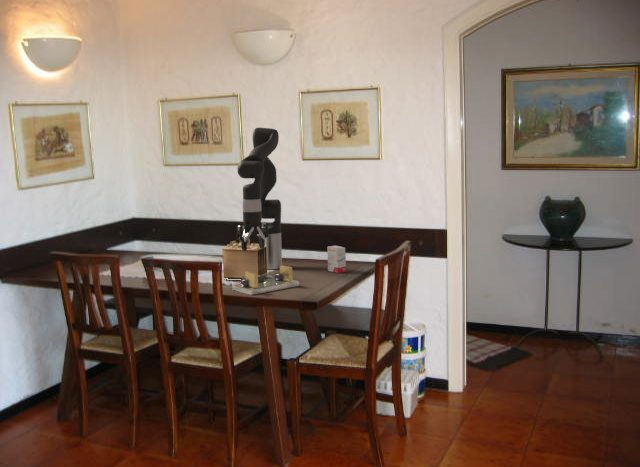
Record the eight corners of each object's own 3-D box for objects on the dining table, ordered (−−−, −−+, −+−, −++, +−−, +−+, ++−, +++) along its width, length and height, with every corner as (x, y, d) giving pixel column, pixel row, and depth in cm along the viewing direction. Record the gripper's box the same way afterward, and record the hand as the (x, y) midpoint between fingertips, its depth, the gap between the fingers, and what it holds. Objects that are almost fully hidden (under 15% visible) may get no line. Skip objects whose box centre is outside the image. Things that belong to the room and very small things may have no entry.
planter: (222, 286, 317) (222, 243, 314) (214, 275, 340) (213, 235, 338) (278, 284, 324) (279, 242, 321) (267, 273, 347) (267, 234, 345)
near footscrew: (238, 285, 308) (237, 271, 307) (248, 283, 311) (248, 269, 310) (251, 288, 301) (250, 274, 300) (261, 286, 304) (261, 272, 303)
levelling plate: (231, 289, 310) (231, 278, 310) (278, 280, 326) (278, 270, 326) (251, 294, 299) (251, 283, 299) (299, 285, 315) (298, 275, 315)
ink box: (346, 272, 343) (346, 247, 341) (337, 273, 340) (337, 248, 339) (336, 269, 350) (335, 245, 349) (327, 270, 348) (326, 246, 346)
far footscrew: (272, 278, 319) (272, 265, 318) (282, 277, 322) (281, 263, 322) (286, 282, 312) (285, 268, 311) (295, 280, 315) (295, 266, 315)
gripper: (260, 208, 306) (261, 246, 309) (232, 210, 297) (233, 250, 300) (271, 209, 301) (272, 248, 303) (242, 212, 292) (244, 252, 294)
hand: (253, 249), depth 301 cm, fingers open, 8 cm apart
